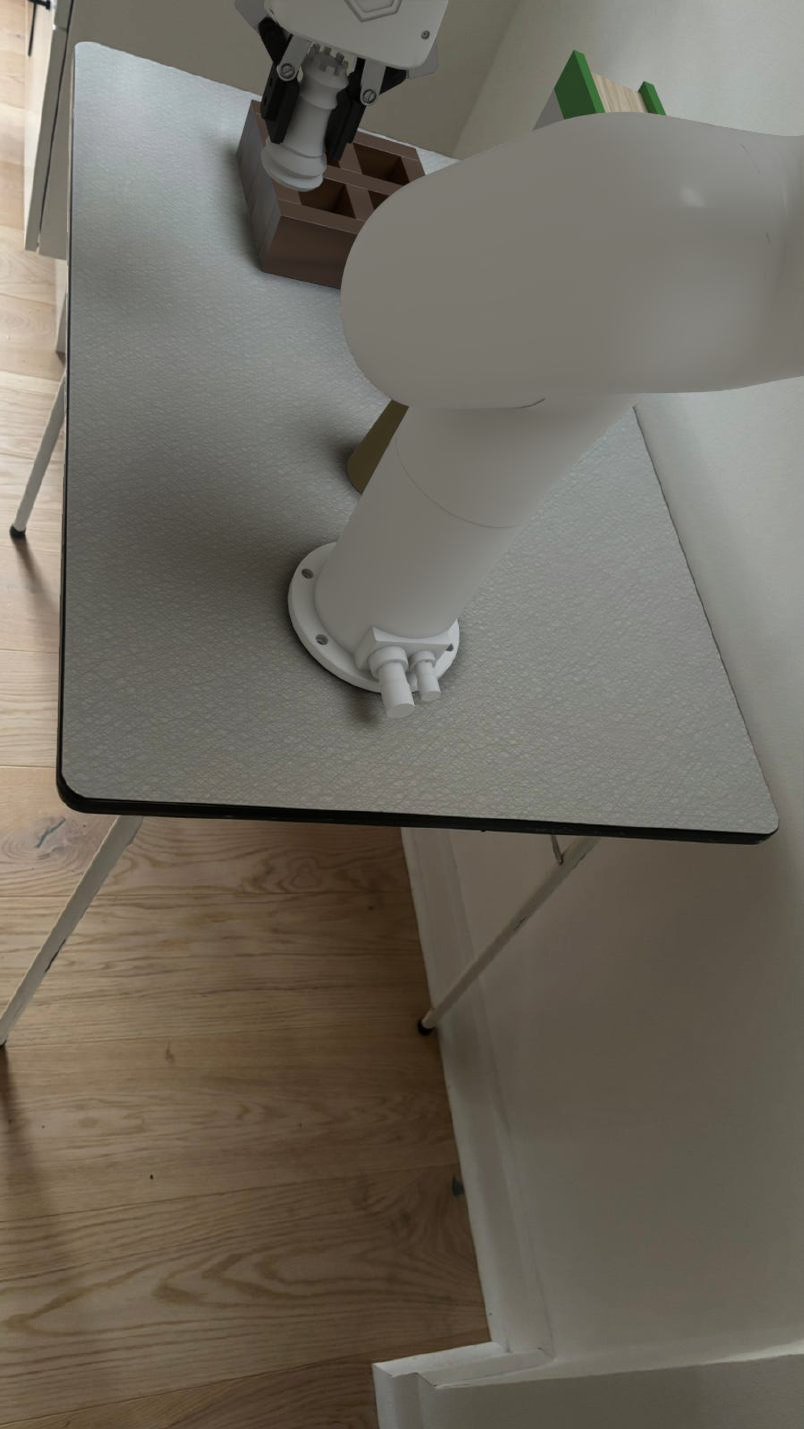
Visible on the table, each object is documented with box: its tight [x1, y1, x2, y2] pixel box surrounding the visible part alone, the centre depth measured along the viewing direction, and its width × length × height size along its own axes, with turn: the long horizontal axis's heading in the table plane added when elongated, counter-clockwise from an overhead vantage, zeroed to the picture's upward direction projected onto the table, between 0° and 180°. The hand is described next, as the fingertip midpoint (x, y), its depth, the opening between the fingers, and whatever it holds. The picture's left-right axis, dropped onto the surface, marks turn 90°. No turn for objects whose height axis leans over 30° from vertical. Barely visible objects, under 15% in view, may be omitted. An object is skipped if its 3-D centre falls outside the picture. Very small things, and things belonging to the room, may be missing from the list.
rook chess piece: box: [261, 43, 350, 192], centre depth 66 cm, size 4×4×8 cm
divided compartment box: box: [235, 98, 427, 290], centre depth 93 cm, size 17×17×6 cm
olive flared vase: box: [346, 399, 409, 495], centre depth 75 cm, size 6×6×11 cm
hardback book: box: [531, 49, 668, 132], centre depth 83 cm, size 18×7×24 cm, turn 6°
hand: (302, 137), depth 67 cm, fingers closed on rook chess piece, 3 cm apart
